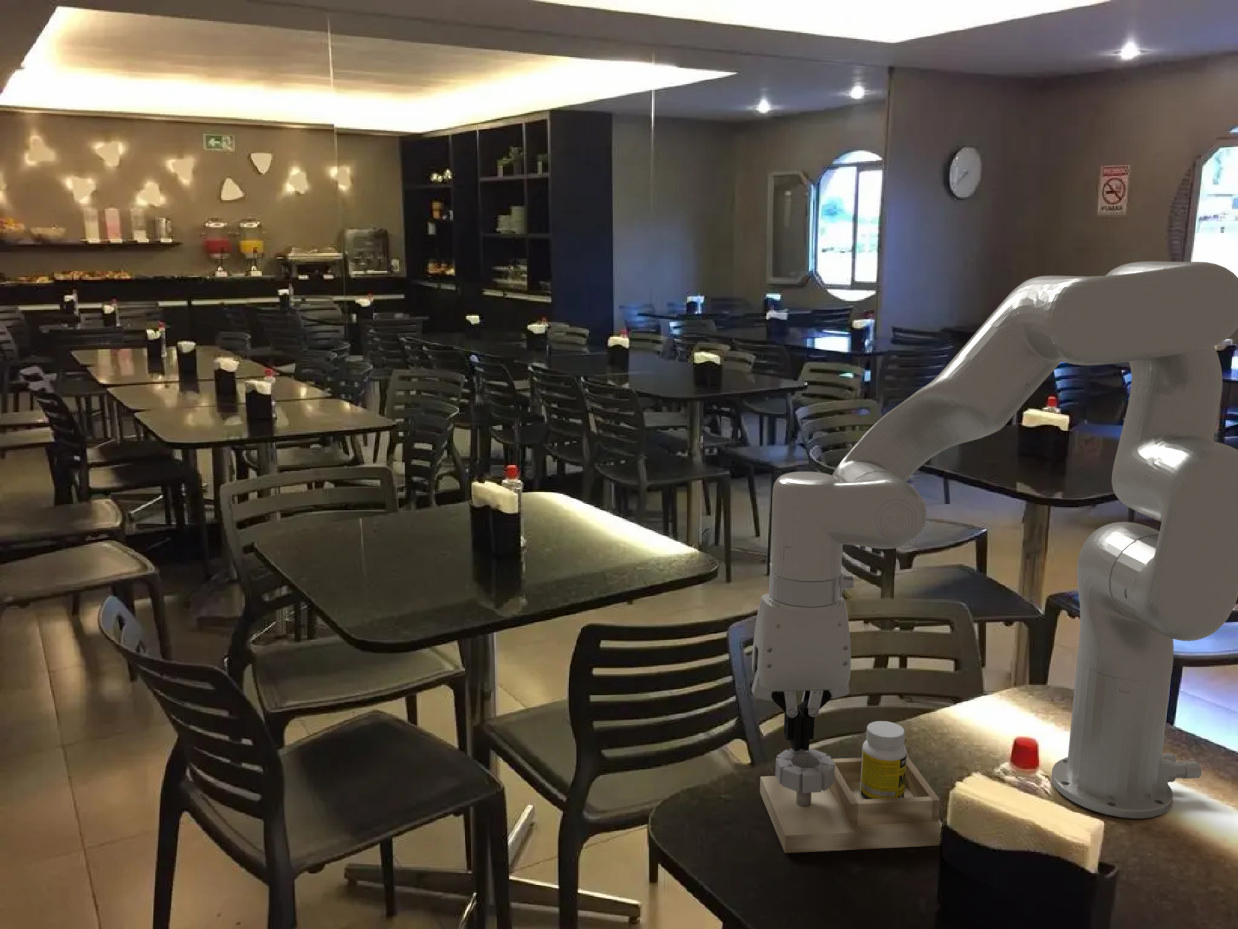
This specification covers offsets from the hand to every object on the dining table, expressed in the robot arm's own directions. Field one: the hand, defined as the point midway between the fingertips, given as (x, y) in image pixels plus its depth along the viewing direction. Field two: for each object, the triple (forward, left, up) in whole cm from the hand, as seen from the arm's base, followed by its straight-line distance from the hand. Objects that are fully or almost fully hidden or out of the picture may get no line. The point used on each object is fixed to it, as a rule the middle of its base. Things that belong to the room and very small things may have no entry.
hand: (798, 744), depth 110 cm
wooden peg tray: (-5, +3, -8) cm, 10 cm away
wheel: (0, +3, -3) cm, 4 cm away
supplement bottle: (-9, +2, -6) cm, 11 cm away
